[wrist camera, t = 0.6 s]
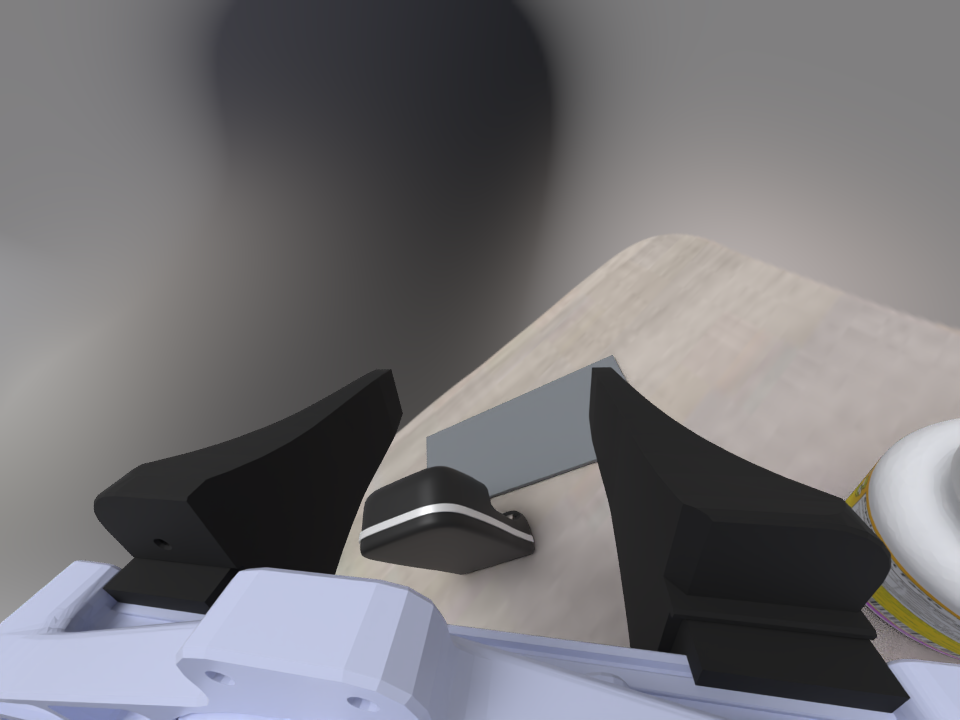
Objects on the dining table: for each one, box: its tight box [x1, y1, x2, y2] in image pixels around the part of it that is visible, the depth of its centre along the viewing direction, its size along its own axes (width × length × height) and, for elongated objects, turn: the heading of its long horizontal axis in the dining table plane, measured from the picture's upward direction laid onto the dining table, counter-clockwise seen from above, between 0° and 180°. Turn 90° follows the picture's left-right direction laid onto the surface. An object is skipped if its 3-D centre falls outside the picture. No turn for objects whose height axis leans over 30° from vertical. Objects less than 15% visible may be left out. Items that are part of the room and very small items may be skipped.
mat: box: [426, 355, 627, 498], centre depth 30 cm, size 8×20×1 cm, turn 99°
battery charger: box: [359, 466, 534, 575], centre depth 23 cm, size 7×4×11 cm, turn 100°
